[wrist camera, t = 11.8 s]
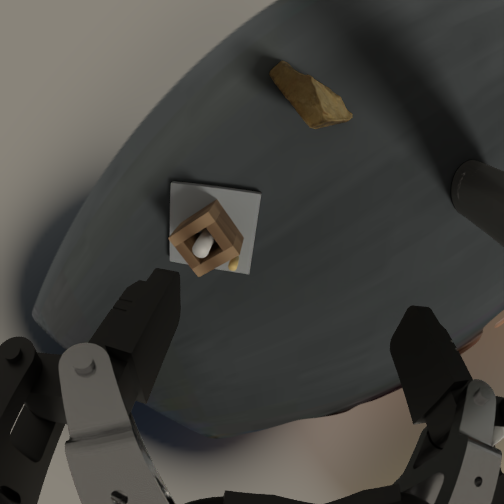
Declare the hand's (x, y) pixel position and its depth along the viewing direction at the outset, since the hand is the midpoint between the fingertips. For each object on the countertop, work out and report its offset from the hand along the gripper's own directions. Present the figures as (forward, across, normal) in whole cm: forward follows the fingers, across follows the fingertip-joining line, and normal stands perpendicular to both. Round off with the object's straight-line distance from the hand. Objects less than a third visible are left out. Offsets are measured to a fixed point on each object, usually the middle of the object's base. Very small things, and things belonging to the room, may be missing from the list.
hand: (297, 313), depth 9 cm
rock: (+28, -2, -10) cm, 30 cm away
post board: (+28, +8, +10) cm, 31 cm away
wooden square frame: (+27, +8, +10) cm, 30 cm away
